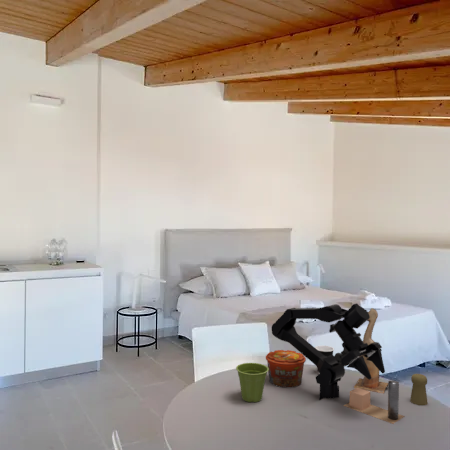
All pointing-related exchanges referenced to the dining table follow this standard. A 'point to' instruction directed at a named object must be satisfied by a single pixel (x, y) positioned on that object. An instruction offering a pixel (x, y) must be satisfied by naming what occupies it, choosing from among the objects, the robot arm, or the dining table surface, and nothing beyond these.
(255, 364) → the plant pot
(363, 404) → the cube
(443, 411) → the dining table surface
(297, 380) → the food container
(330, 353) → the dixie cup
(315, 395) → the dining table surface
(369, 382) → the bird sculpture
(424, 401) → the cork
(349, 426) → the dining table surface
